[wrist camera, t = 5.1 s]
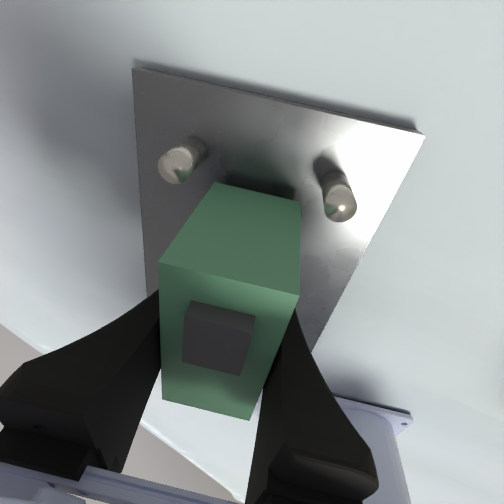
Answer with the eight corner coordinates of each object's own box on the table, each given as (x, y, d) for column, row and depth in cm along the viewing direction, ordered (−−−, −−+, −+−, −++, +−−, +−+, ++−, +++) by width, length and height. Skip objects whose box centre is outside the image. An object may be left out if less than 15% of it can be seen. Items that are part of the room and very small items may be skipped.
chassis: (306, 349, 21) (306, 394, 18) (154, 312, 21) (132, 351, 19) (417, 130, 12) (453, 153, 9) (143, 67, 12) (93, 71, 9)
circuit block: (264, 317, 17) (247, 435, 12) (201, 302, 17) (156, 413, 12) (301, 202, 12) (299, 312, 7) (214, 181, 12) (148, 275, 7)
